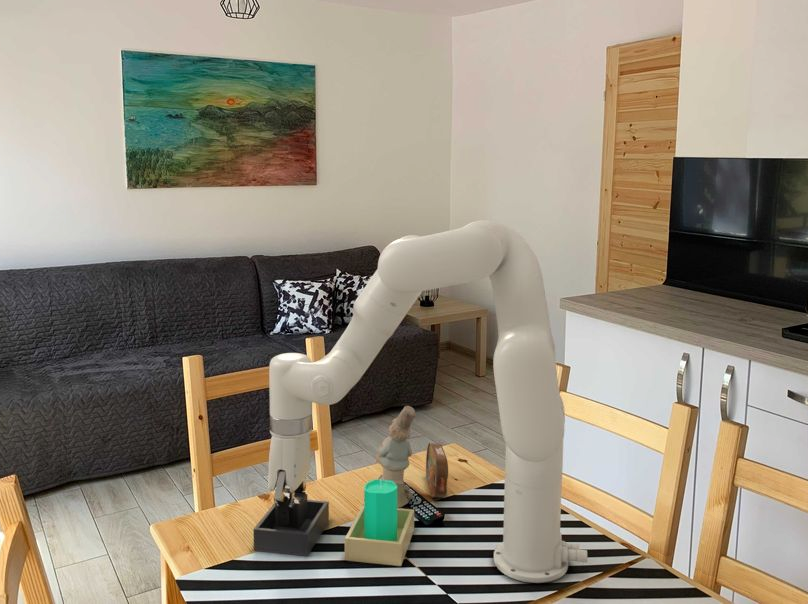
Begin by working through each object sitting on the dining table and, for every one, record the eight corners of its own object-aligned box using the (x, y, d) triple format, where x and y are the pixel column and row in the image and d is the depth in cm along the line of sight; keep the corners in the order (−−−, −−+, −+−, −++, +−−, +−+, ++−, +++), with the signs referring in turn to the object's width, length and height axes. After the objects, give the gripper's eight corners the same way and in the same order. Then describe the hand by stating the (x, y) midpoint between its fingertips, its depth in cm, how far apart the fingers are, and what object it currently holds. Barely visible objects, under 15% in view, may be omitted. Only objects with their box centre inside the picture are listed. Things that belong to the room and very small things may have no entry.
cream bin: (414, 529, 132) (414, 509, 132) (401, 566, 120) (401, 544, 120) (362, 524, 134) (362, 504, 134) (344, 560, 122) (344, 538, 122)
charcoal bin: (328, 521, 135) (328, 501, 135) (307, 556, 123) (307, 534, 123) (279, 516, 137) (279, 496, 136) (253, 550, 125) (253, 529, 124)
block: (307, 516, 132) (307, 493, 131) (299, 529, 127) (299, 505, 127) (284, 514, 132) (284, 491, 132) (275, 526, 128) (275, 502, 127)
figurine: (420, 506, 142) (421, 409, 139) (380, 513, 138) (380, 414, 136) (403, 487, 150) (404, 395, 147) (365, 494, 147) (365, 400, 144)
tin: (424, 473, 157) (425, 436, 156) (439, 472, 157) (439, 436, 156) (433, 505, 142) (434, 465, 141) (449, 504, 142) (450, 464, 141)
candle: (393, 552, 124) (393, 487, 122) (359, 548, 125) (359, 483, 123) (400, 535, 130) (401, 472, 128) (369, 531, 131) (368, 469, 129)
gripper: (287, 405, 136) (288, 496, 139) (252, 439, 120) (254, 541, 122) (325, 408, 135) (325, 500, 137) (295, 442, 119) (295, 545, 121)
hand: (292, 518), depth 130 cm, fingers closed on block, 4 cm apart
